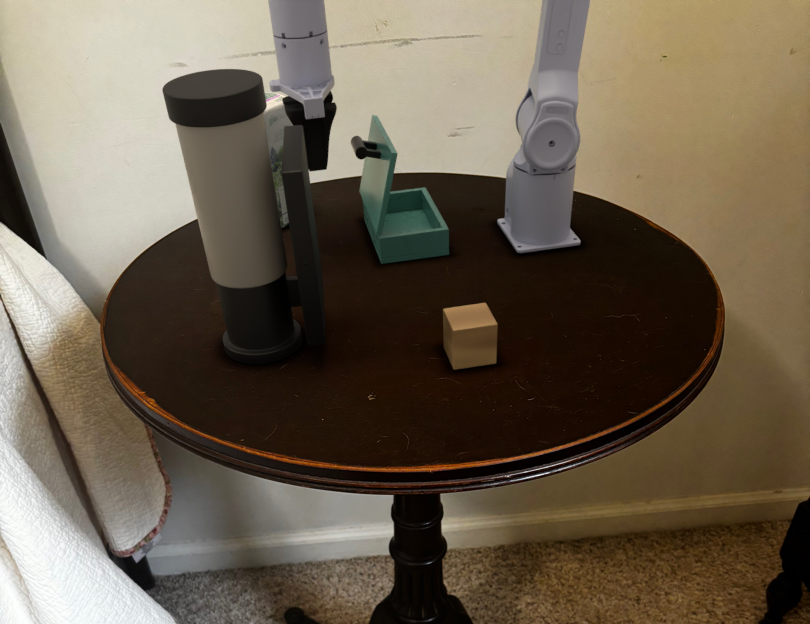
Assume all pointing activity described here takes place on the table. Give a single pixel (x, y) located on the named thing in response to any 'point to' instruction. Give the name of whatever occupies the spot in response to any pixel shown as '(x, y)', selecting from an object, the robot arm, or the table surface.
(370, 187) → the lid
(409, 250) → the teal box base
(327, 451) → the table surface
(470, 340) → the block
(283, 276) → the light fixture
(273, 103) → the syrup box
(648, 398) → the table surface
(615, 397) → the table surface
